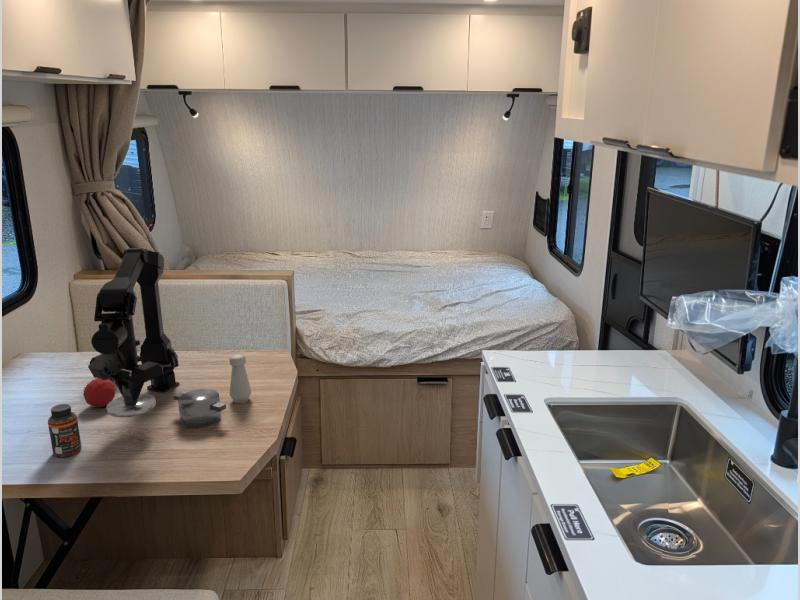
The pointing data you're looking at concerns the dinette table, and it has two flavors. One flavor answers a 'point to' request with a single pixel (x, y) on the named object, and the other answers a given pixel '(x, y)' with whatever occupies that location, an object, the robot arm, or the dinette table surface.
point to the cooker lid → (130, 404)
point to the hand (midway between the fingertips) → (130, 399)
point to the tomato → (99, 392)
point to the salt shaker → (239, 380)
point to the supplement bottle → (64, 431)
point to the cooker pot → (199, 407)
